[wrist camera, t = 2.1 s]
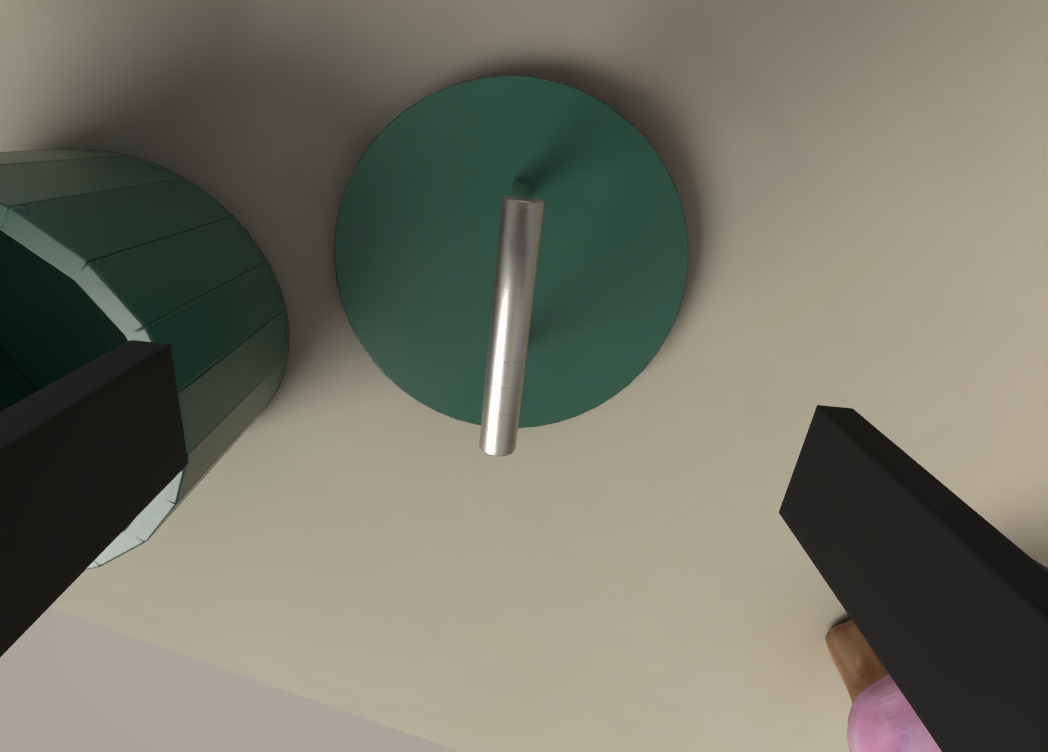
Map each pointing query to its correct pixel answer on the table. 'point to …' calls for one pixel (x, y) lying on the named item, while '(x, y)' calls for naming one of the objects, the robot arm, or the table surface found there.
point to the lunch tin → (136, 297)
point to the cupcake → (874, 698)
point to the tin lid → (511, 253)
